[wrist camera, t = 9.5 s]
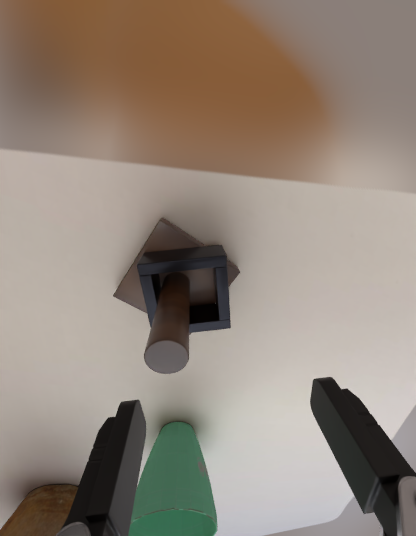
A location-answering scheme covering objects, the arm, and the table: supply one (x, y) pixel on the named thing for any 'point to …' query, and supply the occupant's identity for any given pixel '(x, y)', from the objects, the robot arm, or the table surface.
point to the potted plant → (41, 512)
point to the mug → (174, 488)
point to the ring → (182, 261)
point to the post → (171, 299)
